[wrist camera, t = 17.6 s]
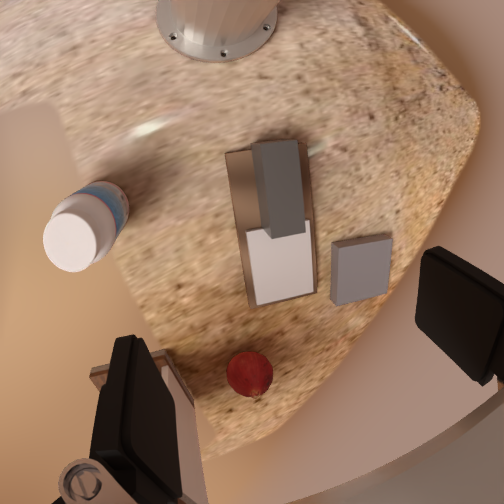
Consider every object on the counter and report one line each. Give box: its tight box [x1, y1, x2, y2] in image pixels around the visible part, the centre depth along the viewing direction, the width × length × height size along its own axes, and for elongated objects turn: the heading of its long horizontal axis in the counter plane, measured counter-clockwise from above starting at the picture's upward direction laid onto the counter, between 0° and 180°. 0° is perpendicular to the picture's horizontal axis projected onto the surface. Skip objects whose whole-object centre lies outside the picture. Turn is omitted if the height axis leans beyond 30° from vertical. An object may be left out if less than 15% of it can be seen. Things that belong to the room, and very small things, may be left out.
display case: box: [89, 349, 208, 504], centre depth 23 cm, size 11×11×35 cm
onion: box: [226, 351, 273, 399], centre depth 37 cm, size 6×6×8 cm
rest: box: [225, 143, 317, 309], centre depth 34 cm, size 18×8×1 cm, turn 8°
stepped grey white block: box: [246, 139, 313, 305], centre depth 32 cm, size 18×7×4 cm, turn 7°
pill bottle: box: [43, 181, 129, 272], centre depth 25 cm, size 6×6×11 cm
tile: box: [330, 234, 393, 306], centre depth 39 cm, size 8×2×8 cm
